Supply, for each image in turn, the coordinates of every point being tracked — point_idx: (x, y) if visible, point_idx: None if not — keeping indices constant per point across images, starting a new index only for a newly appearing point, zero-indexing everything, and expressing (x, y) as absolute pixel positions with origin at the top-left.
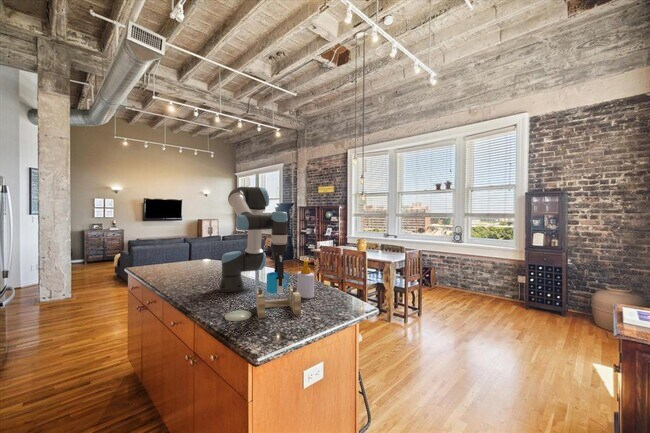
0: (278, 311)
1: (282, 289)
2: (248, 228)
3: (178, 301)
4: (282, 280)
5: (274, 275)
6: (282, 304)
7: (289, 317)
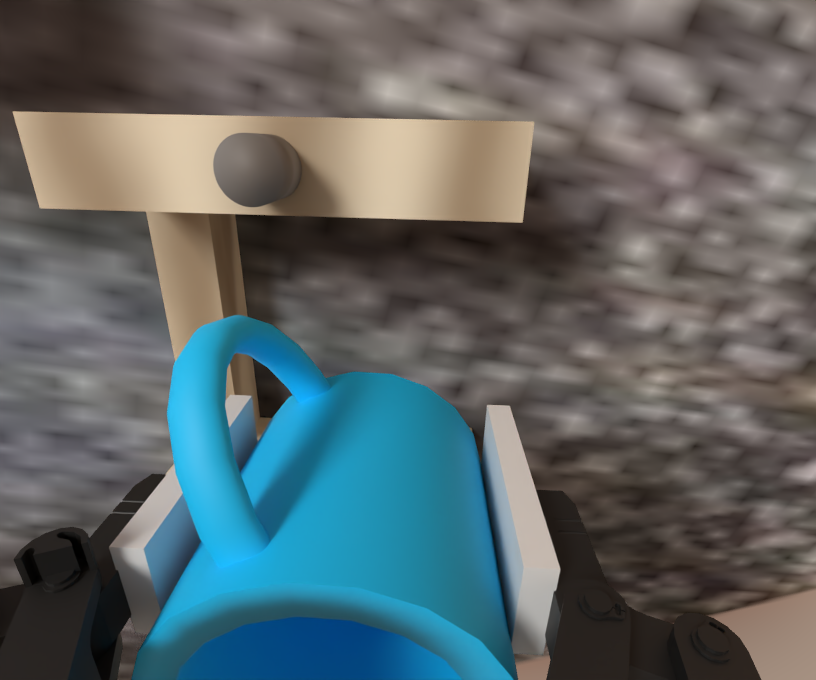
0: (366, 316)
1: (517, 435)
2: None
3: None
4: (548, 548)
5: (207, 643)
6: (233, 266)
7: (541, 255)
